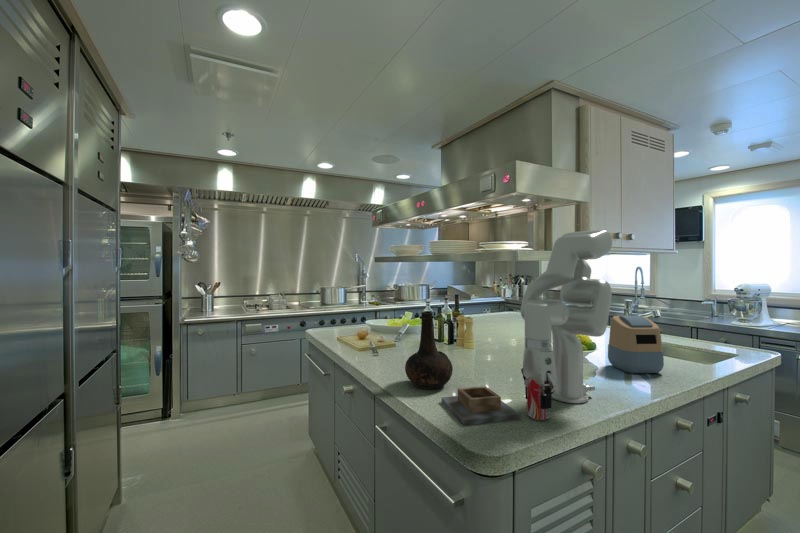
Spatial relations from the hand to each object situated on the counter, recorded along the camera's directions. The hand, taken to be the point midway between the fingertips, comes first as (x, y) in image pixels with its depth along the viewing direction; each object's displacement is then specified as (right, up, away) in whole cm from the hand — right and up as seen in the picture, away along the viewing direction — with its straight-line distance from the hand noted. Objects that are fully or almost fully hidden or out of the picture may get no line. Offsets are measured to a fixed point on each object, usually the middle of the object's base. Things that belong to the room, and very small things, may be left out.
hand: (538, 403), depth 104 cm
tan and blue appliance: (+62, -5, +48) cm, 78 cm away
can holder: (-17, -4, +5) cm, 18 cm away
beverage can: (0, -5, 0) cm, 5 cm away
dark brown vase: (-30, -5, +29) cm, 42 cm away
